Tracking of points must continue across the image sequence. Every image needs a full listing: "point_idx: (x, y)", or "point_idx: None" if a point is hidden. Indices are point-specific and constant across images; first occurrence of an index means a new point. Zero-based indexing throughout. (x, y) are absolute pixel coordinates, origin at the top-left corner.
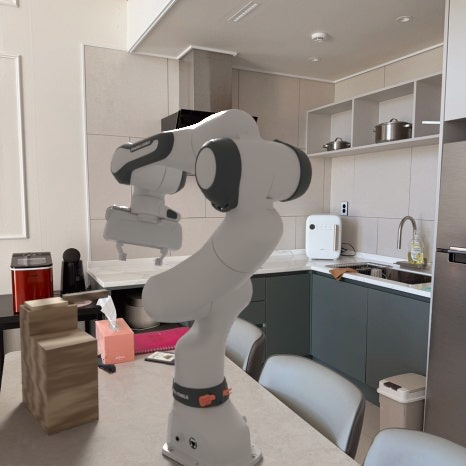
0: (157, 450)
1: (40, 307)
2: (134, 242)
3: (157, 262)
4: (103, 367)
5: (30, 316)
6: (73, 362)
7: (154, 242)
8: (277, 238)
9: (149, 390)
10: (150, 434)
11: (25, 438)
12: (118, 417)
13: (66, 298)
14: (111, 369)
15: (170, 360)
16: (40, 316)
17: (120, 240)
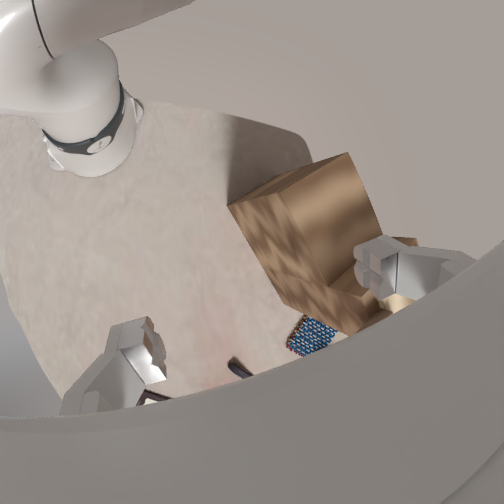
0: (148, 119)
1: None
2: (412, 303)
3: (141, 322)
4: (248, 374)
5: (408, 239)
6: (298, 175)
7: (189, 424)
8: None
9: (163, 295)
10: (155, 155)
11: None
12: (201, 207)
13: (387, 312)
14: (235, 365)
15: (147, 400)
16: None
17: (484, 255)
